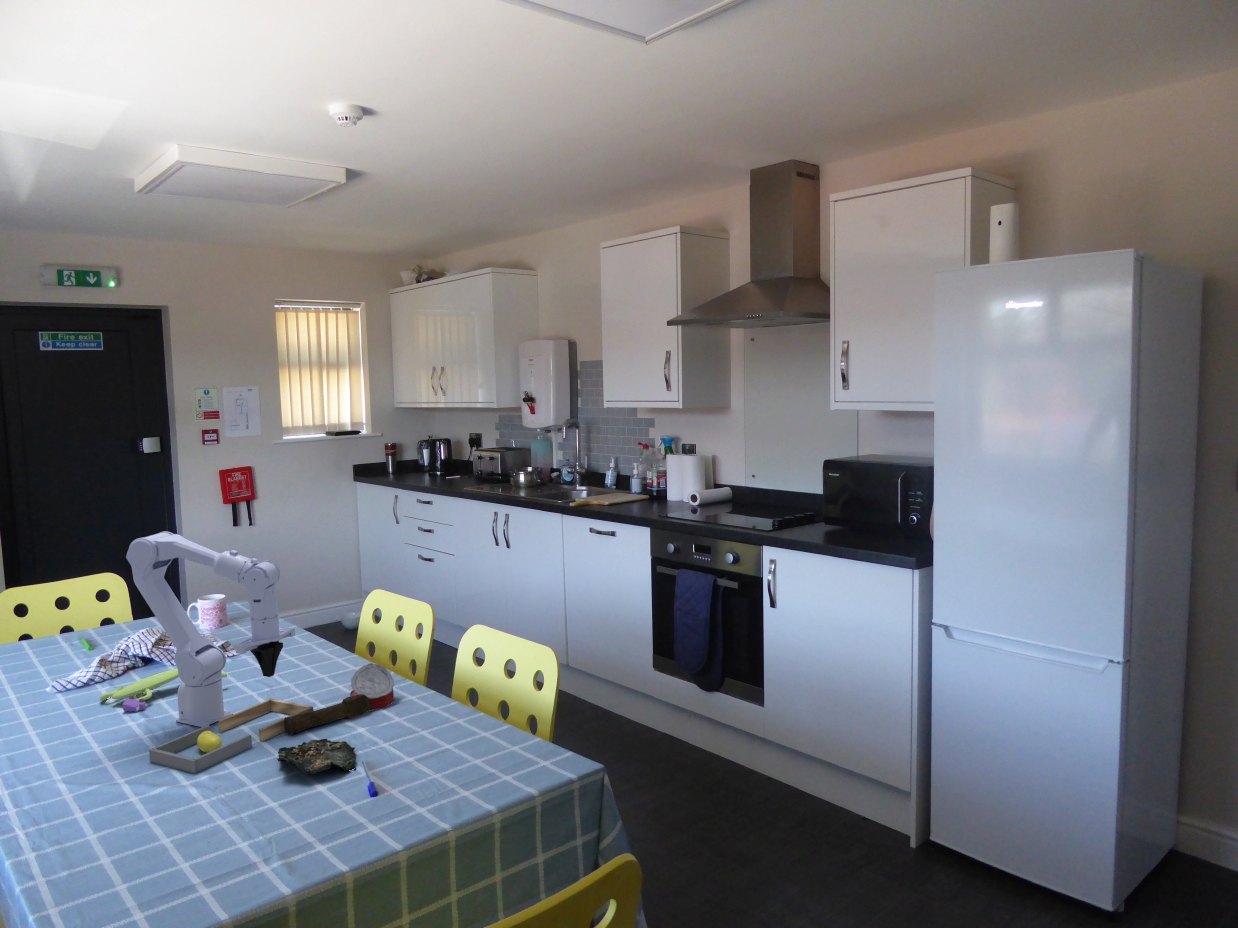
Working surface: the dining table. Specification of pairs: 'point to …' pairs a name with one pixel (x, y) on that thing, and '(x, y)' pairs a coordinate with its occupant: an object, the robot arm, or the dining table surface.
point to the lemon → (208, 741)
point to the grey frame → (168, 758)
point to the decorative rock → (319, 756)
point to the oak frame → (262, 709)
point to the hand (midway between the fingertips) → (268, 675)
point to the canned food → (373, 685)
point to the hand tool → (328, 714)
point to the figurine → (142, 690)
